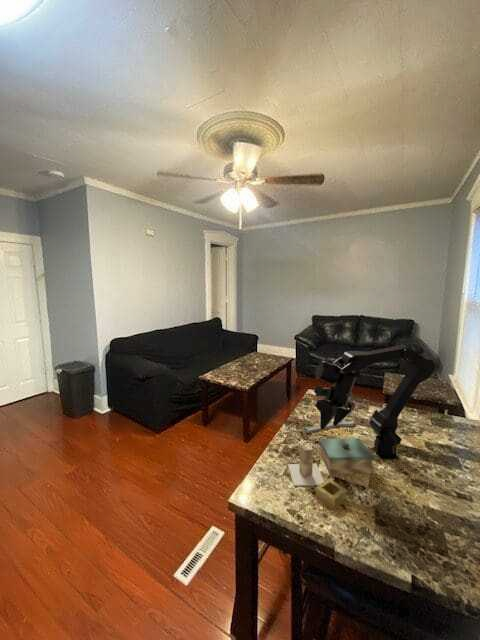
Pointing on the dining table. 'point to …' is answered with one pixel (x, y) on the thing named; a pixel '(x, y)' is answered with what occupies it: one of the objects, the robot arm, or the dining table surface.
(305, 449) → the brown square block
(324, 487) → the frame
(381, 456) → the robot arm
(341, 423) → the adjustable wrench
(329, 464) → the drawer
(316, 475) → the grey mat
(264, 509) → the dining table surface
